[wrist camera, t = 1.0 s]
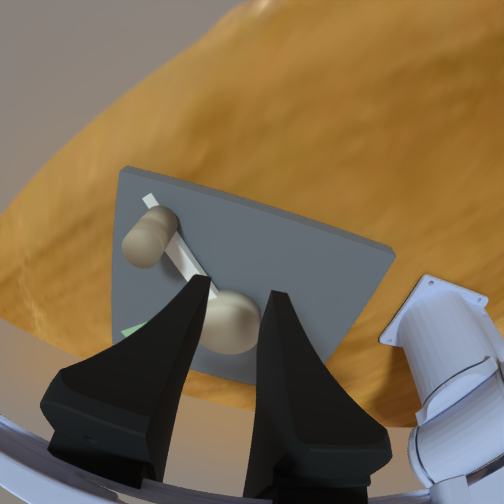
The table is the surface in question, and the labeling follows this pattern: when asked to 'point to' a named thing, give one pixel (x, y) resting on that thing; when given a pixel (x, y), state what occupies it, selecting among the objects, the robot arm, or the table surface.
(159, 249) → the crank handle
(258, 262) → the dial board
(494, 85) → the table surface
